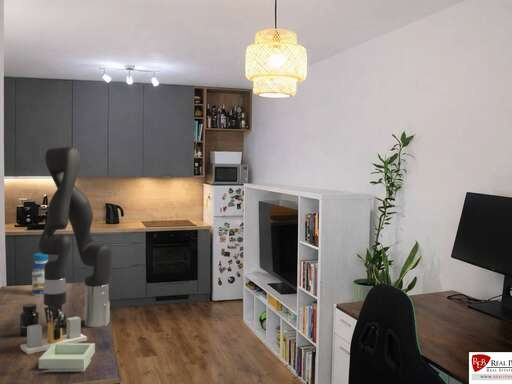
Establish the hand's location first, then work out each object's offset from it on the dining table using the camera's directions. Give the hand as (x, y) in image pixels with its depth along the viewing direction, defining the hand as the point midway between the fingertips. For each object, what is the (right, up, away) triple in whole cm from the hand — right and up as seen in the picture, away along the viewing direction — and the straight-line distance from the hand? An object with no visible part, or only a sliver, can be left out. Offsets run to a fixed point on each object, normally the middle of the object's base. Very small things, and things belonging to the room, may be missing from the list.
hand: (54, 337), depth 180 cm
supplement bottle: (-14, -3, +11) cm, 18 cm away
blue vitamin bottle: (-35, +1, +70) cm, 79 cm away
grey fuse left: (-5, -2, -5) cm, 7 cm away
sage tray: (+10, -4, -14) cm, 17 cm away
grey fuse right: (+5, -2, +5) cm, 7 cm away
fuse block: (0, -3, 0) cm, 3 cm away
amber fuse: (0, -2, 0) cm, 2 cm away
